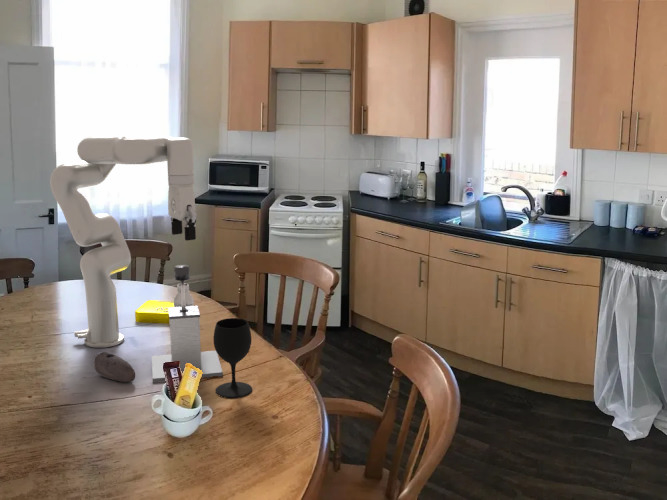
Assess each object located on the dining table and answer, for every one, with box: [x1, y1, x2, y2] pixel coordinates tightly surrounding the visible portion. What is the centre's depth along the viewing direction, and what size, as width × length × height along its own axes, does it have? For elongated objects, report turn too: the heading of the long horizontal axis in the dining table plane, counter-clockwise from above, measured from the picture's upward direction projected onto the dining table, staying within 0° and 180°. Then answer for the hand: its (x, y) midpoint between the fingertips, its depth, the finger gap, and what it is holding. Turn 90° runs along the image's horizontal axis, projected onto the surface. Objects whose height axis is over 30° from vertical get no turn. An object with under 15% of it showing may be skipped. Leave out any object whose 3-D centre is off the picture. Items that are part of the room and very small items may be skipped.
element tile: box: [134, 299, 174, 325], centre depth 269 cm, size 15×15×5 cm
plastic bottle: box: [172, 283, 195, 307], centre depth 240 cm, size 6×7×20 cm
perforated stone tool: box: [94, 351, 136, 383], centre depth 213 cm, size 15×5×7 cm, turn 56°
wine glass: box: [213, 317, 253, 399], centre depth 204 cm, size 10×10×20 cm
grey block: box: [168, 305, 202, 370], centre depth 222 cm, size 9×12×17 cm
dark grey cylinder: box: [173, 264, 191, 312], centre depth 218 cm, size 4×4×20 cm
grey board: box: [151, 350, 223, 383], centre depth 223 cm, size 20×18×1 cm
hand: (183, 236), depth 221 cm, fingers open, 9 cm apart
